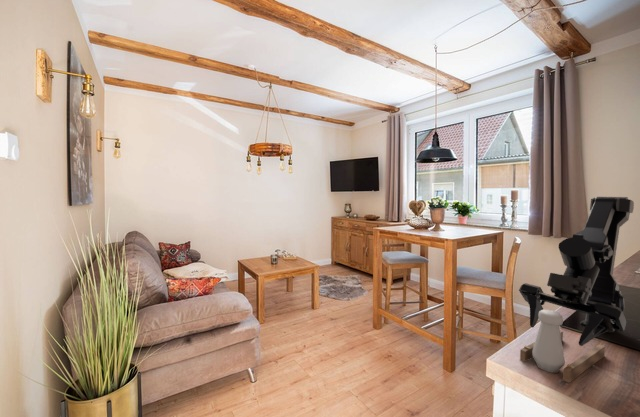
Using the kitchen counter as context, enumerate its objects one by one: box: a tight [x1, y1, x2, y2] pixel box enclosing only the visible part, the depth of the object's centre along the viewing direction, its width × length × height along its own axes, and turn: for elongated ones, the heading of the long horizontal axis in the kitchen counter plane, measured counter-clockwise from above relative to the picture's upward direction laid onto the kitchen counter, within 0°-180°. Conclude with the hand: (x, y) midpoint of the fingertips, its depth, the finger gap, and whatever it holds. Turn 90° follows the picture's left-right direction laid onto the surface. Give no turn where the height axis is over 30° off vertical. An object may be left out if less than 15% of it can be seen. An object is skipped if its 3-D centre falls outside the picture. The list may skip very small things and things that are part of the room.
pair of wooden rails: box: [519, 330, 606, 383], centre depth 67 cm, size 20×9×3 cm, turn 119°
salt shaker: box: [532, 309, 566, 374], centre depth 63 cm, size 6×6×13 cm
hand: (554, 335), depth 64 cm, fingers open, 9 cm apart
